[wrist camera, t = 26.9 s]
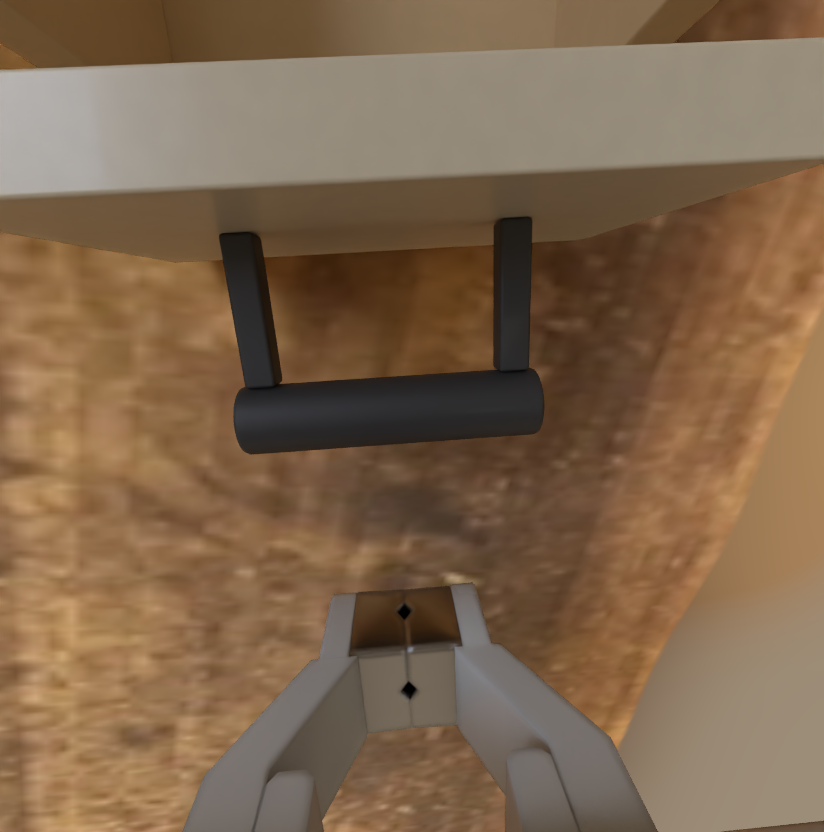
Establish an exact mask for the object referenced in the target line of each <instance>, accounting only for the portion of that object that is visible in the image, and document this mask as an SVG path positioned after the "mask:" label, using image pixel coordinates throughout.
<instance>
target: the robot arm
mask: <svg viewBox="0 0 824 832" xmlns="http://www.w3.org/2000/svg"><path fill="white" fill-rule="evenodd" d="M450 725H457V728H458V729H459V731H460V732H461V733H462V735H463V736H464V738H465V739H466V741H467V742H468V743H469V745H470V746H471V748H472V749H473V751H474V752H475V753H476V755H477V756H478V758H479V759H480V760H481V762H482V763H483V765H484V766H485V768H486V769H487V770H488V772H489V773H490V775H491V776H492V777H493V779H494V780H495V782H496V783H497V785H498V786H499V787H500V789H501V790H502V792H503V793H504V794H505V796H506V806H505V832H658V831H657V829H656V827H655V825H654V823H653V821H652V819H651V817H650V815H649V813H648V811H647V809H646V807H645V805H644V803H643V801H642V799H641V797H640V795H639V793H638V791H637V789H636V787H635V785H634V783H633V781H632V779H631V777H630V775H629V773H628V771H627V769H626V767H625V765H624V763H623V761H622V759H621V757H620V755H619V753H618V751H617V749H616V747H615V745H614V743H613V741H612V739H611V737H609V736H608V735H607V734H606V733H605V732H604V731H602V730H601V729H600V728H599V727H598V726H597V725H595V724H594V723H593V722H592V721H591V720H589V719H588V718H587V717H586V716H585V715H584V714H582V713H581V712H580V711H579V710H578V709H576V708H575V707H574V706H573V705H572V704H571V703H569V702H568V701H567V700H566V699H565V698H564V697H562V696H561V695H560V694H559V693H558V692H556V691H555V690H554V689H553V688H552V687H551V686H549V685H548V684H547V683H546V682H545V681H544V680H542V679H541V678H540V677H539V676H538V675H536V674H535V673H534V672H533V671H532V670H531V669H529V668H528V667H527V666H526V665H525V664H524V663H522V662H521V661H520V660H519V659H518V658H516V657H515V656H514V655H513V654H512V653H511V652H509V651H508V650H507V649H506V648H505V647H504V646H502V645H501V644H500V643H497V644H492V641H491V638H490V634H489V631H488V628H487V624H486V621H485V618H484V614H483V611H482V608H481V604H480V601H479V598H478V594H477V591H476V588H475V585H474V584H473V583H472V582H471V583H462V584H452V585H450V586H438V587H426V588H415V589H402V590H385V591H368V592H358V593H342V594H334V595H333V597H332V598H331V602H330V607H329V612H328V617H327V622H326V626H325V631H324V636H323V641H322V646H321V651H320V656H319V659H317V660H311V661H310V662H309V663H308V664H307V665H306V666H305V667H304V668H303V669H302V671H301V672H300V673H299V674H298V675H297V676H296V677H295V678H294V679H293V680H292V681H291V682H290V684H289V685H288V686H287V687H286V688H285V689H284V690H283V691H282V692H281V693H280V694H279V695H278V697H277V698H276V699H275V700H274V701H273V702H272V703H271V704H270V705H269V706H268V707H267V708H266V710H265V711H264V712H263V713H262V714H261V715H260V716H259V717H258V718H257V719H256V720H255V721H254V723H253V724H252V725H251V726H250V727H249V728H248V729H247V730H246V731H245V732H244V733H243V734H242V736H241V737H240V738H239V739H238V740H237V741H236V742H235V743H234V744H233V745H232V746H231V747H230V749H229V750H228V751H227V752H226V753H225V754H224V755H223V756H222V757H221V758H220V759H219V760H218V762H217V763H216V764H215V765H214V766H213V767H212V768H211V769H210V770H209V771H208V772H207V773H206V774H205V776H204V778H203V780H202V783H201V785H200V788H199V790H198V793H197V795H196V798H195V801H194V803H193V806H192V808H191V811H190V813H189V816H188V818H187V821H186V823H185V826H184V828H183V831H182V832H324V829H323V823H322V820H323V818H324V816H325V814H326V812H327V811H328V809H329V807H330V805H331V803H332V801H333V799H334V798H335V796H336V794H337V792H338V790H339V788H340V786H341V785H342V783H343V781H344V779H345V777H346V775H347V773H348V772H349V770H350V768H351V766H352V764H353V762H354V760H355V759H356V757H357V755H358V753H359V751H360V749H361V747H362V746H363V744H364V742H365V740H366V738H367V734H368V733H376V732H384V731H392V730H399V729H407V728H419V727H434V726H450ZM724 832H824V821H818V822H808V823H799V824H789V825H780V826H771V827H761V828H752V829H743V830H733V831H724Z"/></svg>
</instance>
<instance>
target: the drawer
mask: <svg viewBox="0 0 824 832" xmlns="http://www.w3.org/2000/svg"><path fill="white" fill-rule="evenodd" d="M719 1H720V0H0V43H2V44H3V45H5V46H6V47H8V48H9V49H11V50H12V51H14V52H15V53H17V54H18V55H20V56H21V57H23V58H24V59H26V60H27V61H29V62H30V63H32V64H33V65H35V66H36V67H38V68H36V69H10V70H0V232H3V233H9V234H15V235H21V236H26V237H32V238H38V239H44V240H49V241H55V242H61V243H66V244H72V245H78V246H84V247H89V248H95V249H101V250H107V251H112V252H118V253H124V254H130V255H135V256H141V257H147V258H152V259H158V260H164V261H170V262H175V263H176V262H194V261H212V260H223V264H224V269H225V275H226V281H227V286H228V292H229V297H230V303H231V309H232V314H233V320H234V325H235V331H236V337H237V342H238V348H239V353H240V359H241V364H242V370H243V376H244V381H245V386H246V387H244V388H242V389H240V390H239V392H238V393H237V396H236V399H235V403H234V428H235V433H236V437H237V440H238V443H239V445H240V447H241V448H242V450H243V451H244V452H246V453H248V454H264V453H278V452H292V451H306V450H320V449H334V448H348V447H362V446H376V445H390V444H403V443H417V442H431V441H445V440H459V439H473V438H487V437H501V436H515V435H529V434H534V433H536V432H538V431H539V430H540V428H541V425H542V422H543V417H544V394H543V388H542V384H541V381H540V378H539V376H538V374H537V372H536V371H535V370H534V369H531V368H529V340H530V301H531V261H532V243H534V242H552V241H570V240H583V239H586V238H589V237H592V236H595V235H599V234H602V233H605V232H608V231H611V230H615V229H618V228H621V227H624V226H627V225H630V224H634V223H637V222H640V221H643V220H646V219H649V218H653V217H656V216H659V215H662V214H665V213H668V212H672V211H675V210H678V209H681V208H684V207H688V206H691V205H694V204H697V203H700V202H703V201H707V200H710V199H713V198H716V197H719V196H722V195H726V194H729V193H732V192H735V191H738V190H741V189H745V188H748V187H751V186H754V185H757V184H760V183H764V182H767V181H770V180H773V179H776V178H780V177H783V176H786V175H789V174H792V173H795V172H799V171H802V170H805V169H808V168H811V167H814V166H818V165H821V164H824V37H822V38H797V39H771V40H746V41H721V42H695V43H674V42H675V41H676V40H677V39H678V38H679V37H680V36H682V35H683V34H684V33H685V32H686V31H687V30H688V29H689V28H690V27H691V26H693V25H694V24H695V23H696V22H697V21H698V20H699V19H700V18H701V17H702V16H704V15H705V14H706V13H707V12H708V11H709V10H710V9H711V8H712V7H713V6H715V5H716V4H717V3H718V2H719ZM480 245H494V308H493V365H494V367H495V368H496V369H498V370H486V371H471V372H456V373H441V374H426V375H411V376H396V377H381V378H365V379H350V380H335V381H320V382H305V383H290V384H279V383H280V382H282V374H281V367H280V361H279V354H278V347H277V341H276V334H275V328H274V321H273V314H272V308H271V301H270V295H269V288H268V281H267V275H266V268H265V262H264V258H265V257H283V256H301V255H319V254H337V253H355V252H373V251H391V250H409V249H427V248H445V247H463V246H480Z"/></svg>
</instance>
